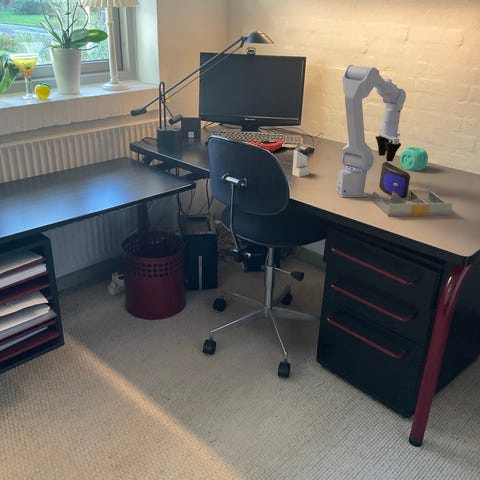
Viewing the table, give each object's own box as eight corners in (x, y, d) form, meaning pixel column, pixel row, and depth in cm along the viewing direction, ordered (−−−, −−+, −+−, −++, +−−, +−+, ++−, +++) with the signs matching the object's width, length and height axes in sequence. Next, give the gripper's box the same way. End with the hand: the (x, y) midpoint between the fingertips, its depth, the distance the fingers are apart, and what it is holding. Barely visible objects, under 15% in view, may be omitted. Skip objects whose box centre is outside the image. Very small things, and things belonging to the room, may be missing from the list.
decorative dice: (411, 164, 226) (414, 146, 223) (426, 169, 220) (429, 150, 217) (398, 167, 222) (401, 148, 219) (413, 172, 216) (416, 152, 213)
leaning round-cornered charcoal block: (372, 185, 199) (375, 161, 195) (383, 185, 200) (386, 160, 196) (396, 200, 185) (400, 174, 181) (407, 199, 186) (412, 173, 182)
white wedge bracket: (284, 170, 205) (294, 149, 205) (299, 178, 212) (308, 158, 212) (291, 172, 203) (300, 151, 202) (306, 181, 210) (315, 160, 209)
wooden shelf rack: (388, 216, 171) (389, 204, 169) (372, 200, 184) (373, 189, 183) (450, 215, 173) (452, 203, 172) (430, 199, 187) (432, 188, 185)
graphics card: (267, 158, 230) (268, 149, 229) (206, 147, 245) (206, 138, 243) (287, 148, 246) (288, 140, 244) (228, 138, 260) (229, 130, 259)
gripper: (409, 126, 187) (403, 163, 193) (393, 117, 200) (388, 152, 206) (390, 126, 186) (385, 163, 192) (375, 117, 199) (370, 153, 205)
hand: (385, 158), depth 199 cm, fingers open, 7 cm apart
